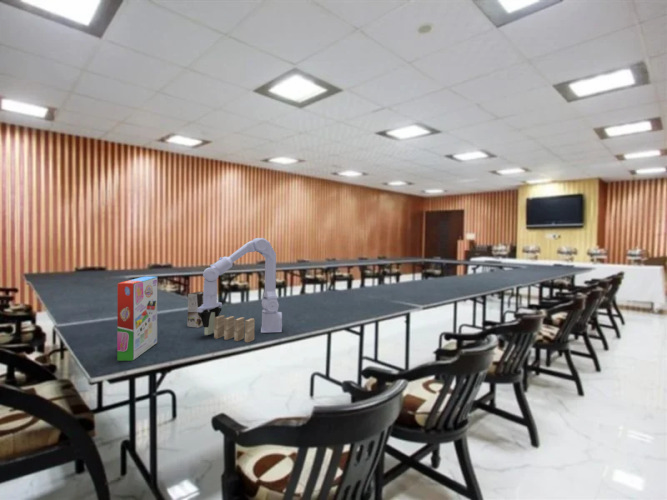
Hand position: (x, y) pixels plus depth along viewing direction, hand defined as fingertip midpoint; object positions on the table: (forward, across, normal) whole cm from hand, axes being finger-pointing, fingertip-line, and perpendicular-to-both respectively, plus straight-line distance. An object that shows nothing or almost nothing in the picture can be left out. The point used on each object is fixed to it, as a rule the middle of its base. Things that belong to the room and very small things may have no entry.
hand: (209, 325), depth 157 cm
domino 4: (+4, 0, +15) cm, 16 cm away
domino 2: (+4, 0, +5) cm, 7 cm away
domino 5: (+4, 0, +20) cm, 20 cm away
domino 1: (+3, 0, 0) cm, 3 cm away
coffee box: (+5, -14, -17) cm, 22 cm away
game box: (+5, +28, -10) cm, 30 cm away
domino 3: (+4, 0, +10) cm, 11 cm away
